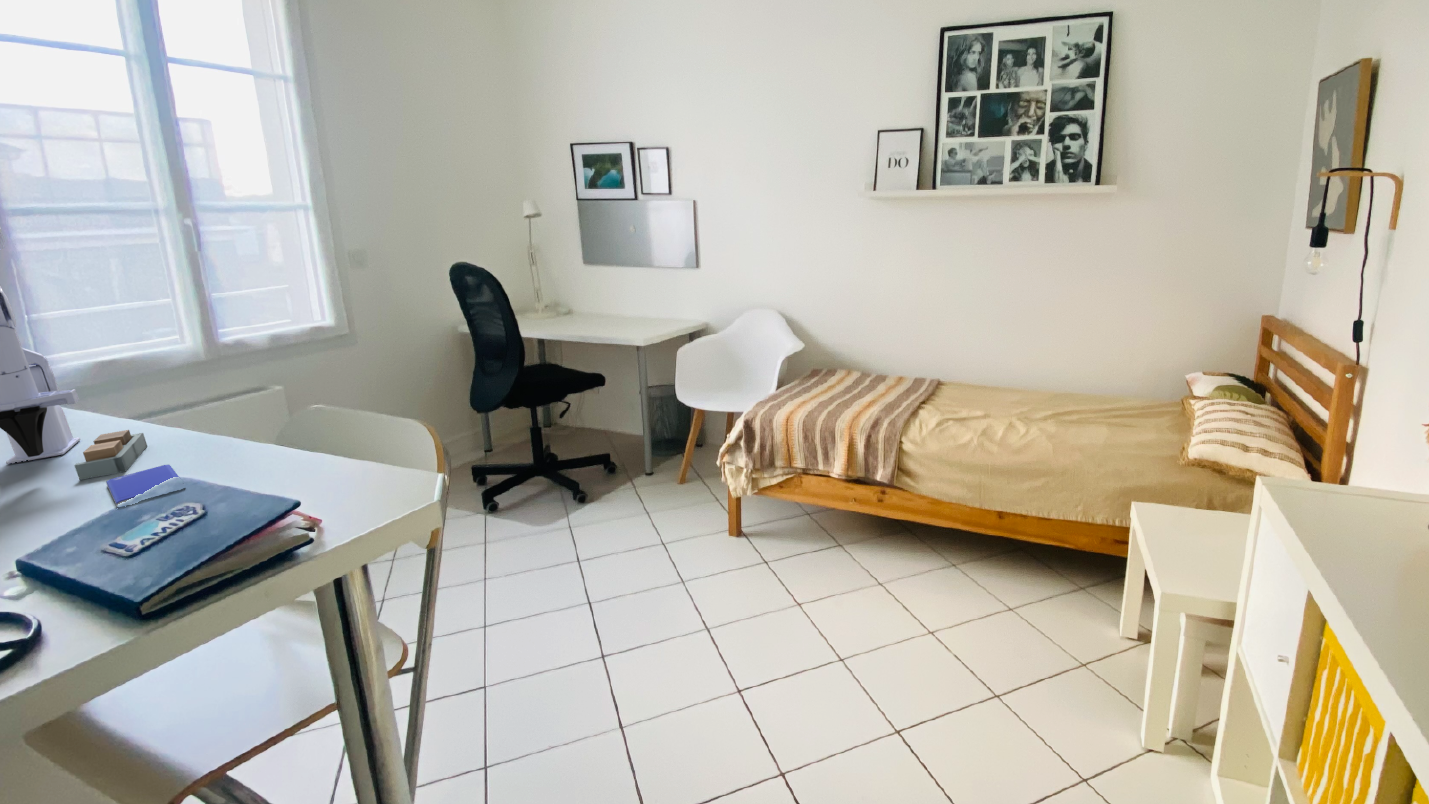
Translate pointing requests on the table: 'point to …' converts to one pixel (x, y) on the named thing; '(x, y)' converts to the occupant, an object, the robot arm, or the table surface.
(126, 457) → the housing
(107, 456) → the block
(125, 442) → the seated block
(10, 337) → the robot arm
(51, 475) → the table surface
